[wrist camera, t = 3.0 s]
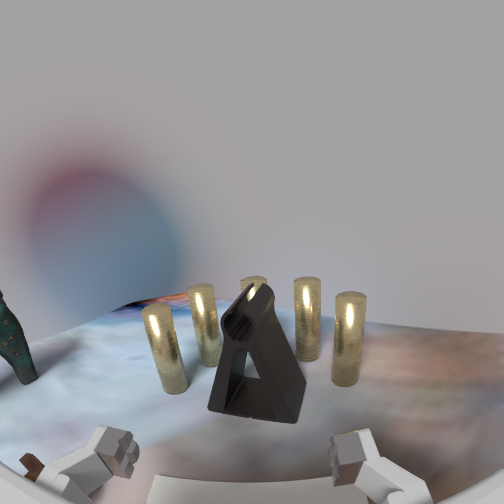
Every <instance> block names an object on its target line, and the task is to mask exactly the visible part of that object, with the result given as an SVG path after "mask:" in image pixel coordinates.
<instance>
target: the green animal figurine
mask: <svg viewBox="0 0 504 504" xmlns="http://www.w3.org/2000/svg"><path fill="white" fill-rule="evenodd" d="M2 297H3V294H2V292H1V291H0V355H1V356H2V357H3V358H4V359H5V360H6V361H7V362H8V363H9V364H10V365H11V366H12V367H13V369H14V371H15V373H16V375H17V377H18V378H19V380H20V381H21V383H22V384H24V385H27V384H30V383H31V382H33V381H35V380H36V379H37V378H38V375H37V373H36V370H35V367H34V364H33V361H32V358H31V354H30V352H29V347H28V344H27V341H26V339H25V336H24V333H23V329H22V327H21V325H20V323H19V321H18V319H17V318H16V317H15V315H14V314H13V313H12V312H11V311H10V310H9V309H8V307H7V306H6V304H5V302H4V300H3V299H2Z"/></svg>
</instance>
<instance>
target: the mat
mask: <svg viewBox="0 0 504 504" xmlns="http://www.w3.org/2000/svg"><path fill="white" fill-rule="evenodd" d="M354 484H355V483H354ZM354 484H348V485H342V486H336V487H334V486H333V481H332V476H329V477H323V478H315V479H307V480H297V481H284V482H263V483H234V482H212V481H200V480H190V479H181V478H174V477H167V476H161V475H155V478H154V481H153V484H152V487H151V490H150V493H149V496H148V499H147V502H146V504H369V503H368V499H367V496H366V494H365V493H363V492H362V491H361V490H360V489H359V488H358V487H357V486H356V485H354Z"/></svg>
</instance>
